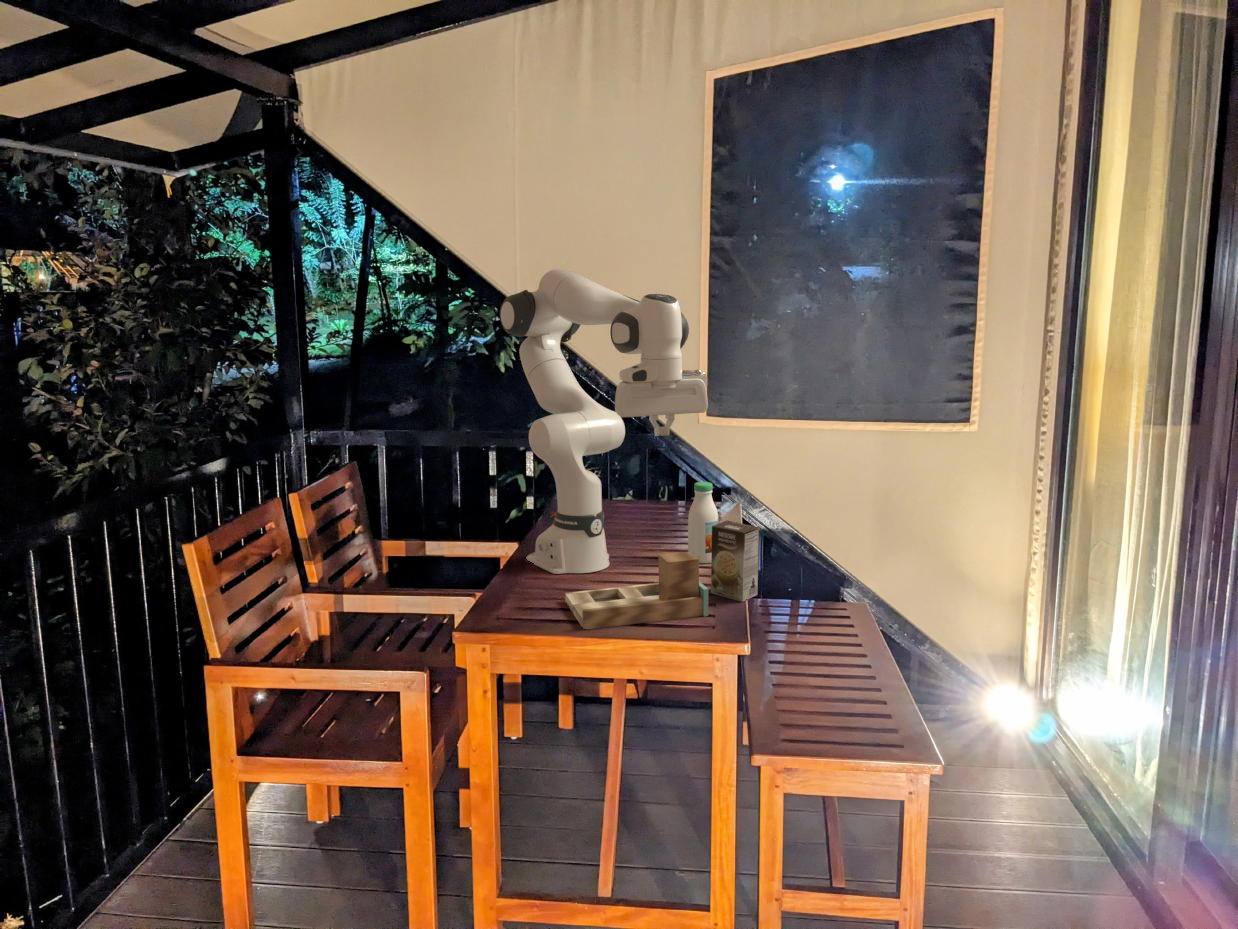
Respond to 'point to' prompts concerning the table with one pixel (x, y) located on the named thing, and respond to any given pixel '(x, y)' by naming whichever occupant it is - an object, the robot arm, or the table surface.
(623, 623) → the board
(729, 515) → the table surface
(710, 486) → the milk bottle
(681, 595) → the walnut block
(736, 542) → the coffee box
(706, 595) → the end stop
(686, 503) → the table surface
